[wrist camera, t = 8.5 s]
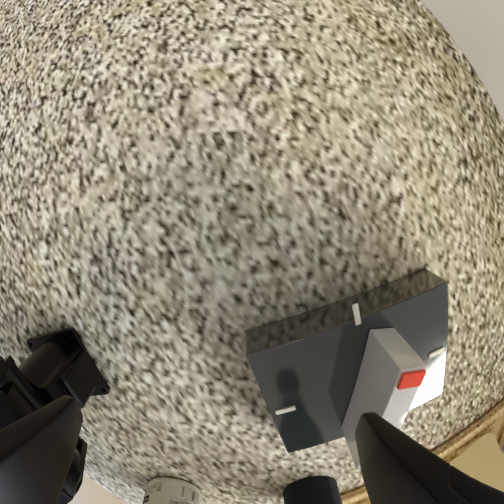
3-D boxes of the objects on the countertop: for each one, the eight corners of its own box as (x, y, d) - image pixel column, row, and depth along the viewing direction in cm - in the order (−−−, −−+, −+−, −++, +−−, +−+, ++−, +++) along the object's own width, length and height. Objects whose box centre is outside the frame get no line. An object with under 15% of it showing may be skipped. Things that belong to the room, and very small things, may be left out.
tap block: (286, 435, 23) (291, 461, 20) (239, 316, 20) (239, 341, 17) (426, 383, 22) (442, 402, 19) (424, 254, 19) (448, 267, 16)
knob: (362, 424, 19) (380, 467, 15) (340, 427, 19) (357, 472, 15) (393, 327, 17) (430, 367, 12) (369, 328, 17) (402, 372, 12)
